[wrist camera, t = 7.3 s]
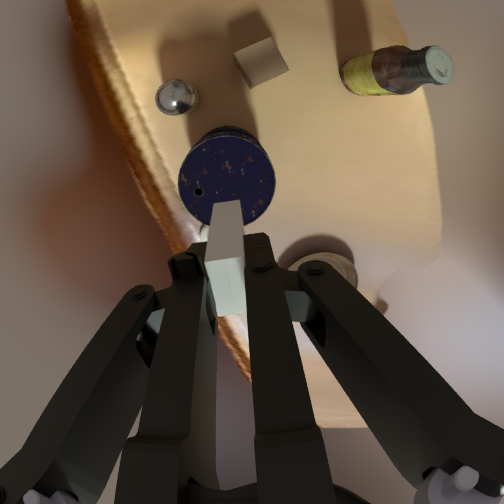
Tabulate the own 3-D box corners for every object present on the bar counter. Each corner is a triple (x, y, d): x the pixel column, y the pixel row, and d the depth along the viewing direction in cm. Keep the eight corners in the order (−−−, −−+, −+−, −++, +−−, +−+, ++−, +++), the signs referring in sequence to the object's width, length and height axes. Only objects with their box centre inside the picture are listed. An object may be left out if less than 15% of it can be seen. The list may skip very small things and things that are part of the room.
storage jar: (253, 117, 39) (264, 123, 26) (269, 180, 43) (286, 216, 30) (186, 136, 39) (163, 151, 26) (205, 197, 44) (193, 240, 31)
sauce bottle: (356, 103, 38) (436, 111, 21) (330, 72, 36) (400, 55, 18) (384, 81, 36) (470, 80, 19) (359, 49, 34) (439, 27, 16)
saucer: (271, 253, 50) (273, 261, 47) (354, 239, 49) (360, 246, 47) (279, 318, 57) (281, 328, 54) (351, 305, 56) (356, 313, 54)
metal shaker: (165, 87, 36) (148, 83, 28) (196, 80, 36) (187, 74, 28) (170, 117, 38) (155, 119, 30) (201, 110, 38) (193, 111, 30)
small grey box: (233, 60, 35) (233, 52, 29) (265, 46, 34) (270, 36, 28) (250, 88, 37) (252, 85, 32) (281, 74, 36) (289, 69, 31)
